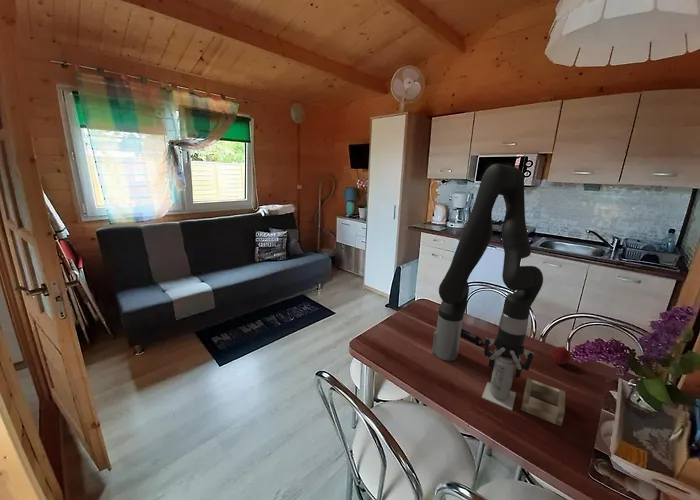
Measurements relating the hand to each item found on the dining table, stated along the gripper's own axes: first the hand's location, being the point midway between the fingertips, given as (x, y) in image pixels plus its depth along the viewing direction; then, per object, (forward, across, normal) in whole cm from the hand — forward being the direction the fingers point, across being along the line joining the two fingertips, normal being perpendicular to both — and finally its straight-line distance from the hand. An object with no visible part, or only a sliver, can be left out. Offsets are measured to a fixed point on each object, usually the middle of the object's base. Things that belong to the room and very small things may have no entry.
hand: (503, 372), depth 98 cm
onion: (+9, -16, -33) cm, 38 cm away
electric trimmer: (+10, +19, -30) cm, 37 cm away
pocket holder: (+9, -12, -3) cm, 15 cm away
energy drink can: (+9, 0, 0) cm, 9 cm away
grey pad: (+9, 0, 0) cm, 9 cm away
